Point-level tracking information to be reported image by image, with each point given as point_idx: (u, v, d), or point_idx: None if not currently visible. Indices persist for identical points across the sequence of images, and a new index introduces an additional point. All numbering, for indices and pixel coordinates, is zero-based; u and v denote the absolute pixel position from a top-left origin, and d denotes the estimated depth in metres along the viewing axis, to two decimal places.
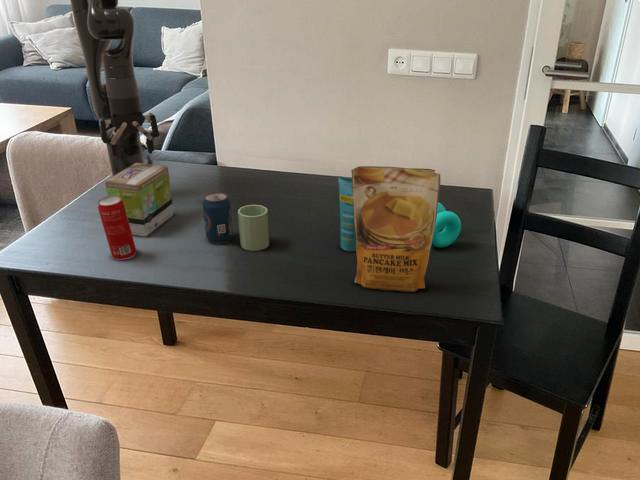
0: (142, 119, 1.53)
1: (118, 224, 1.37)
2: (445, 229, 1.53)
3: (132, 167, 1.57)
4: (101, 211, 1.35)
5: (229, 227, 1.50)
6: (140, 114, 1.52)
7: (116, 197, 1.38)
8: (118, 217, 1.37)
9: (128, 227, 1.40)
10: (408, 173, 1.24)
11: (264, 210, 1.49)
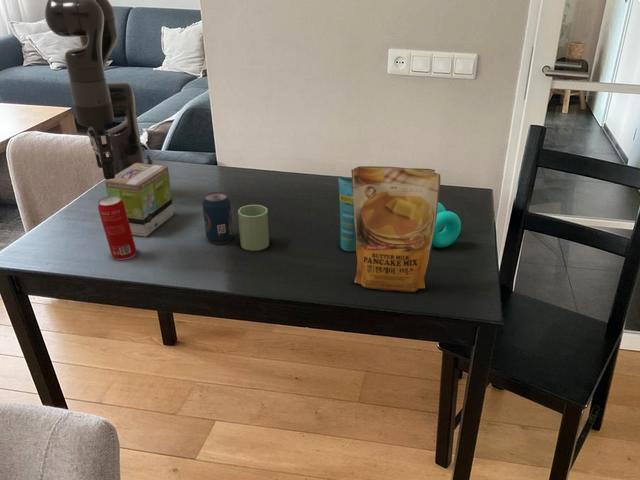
0: (95, 136, 1.26)
1: (118, 224, 1.37)
2: (445, 229, 1.53)
3: (132, 167, 1.57)
4: (101, 211, 1.35)
5: (229, 227, 1.50)
6: (94, 130, 1.25)
7: (116, 197, 1.38)
8: (118, 217, 1.37)
9: (128, 227, 1.40)
10: (408, 173, 1.24)
11: (264, 210, 1.49)
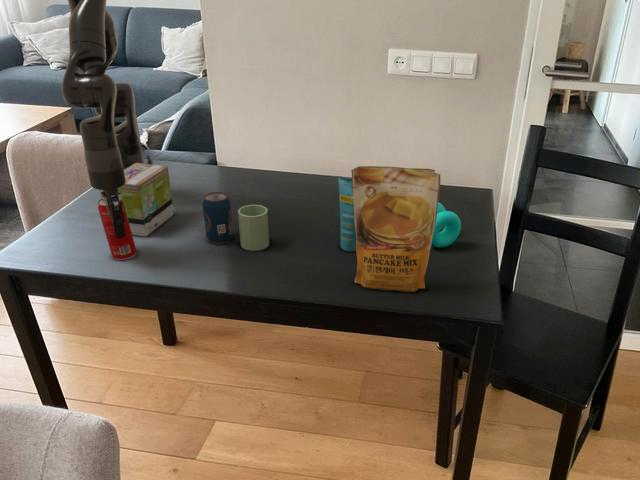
0: (108, 198, 1.33)
1: None
2: (445, 229, 1.53)
3: (132, 167, 1.57)
4: (101, 211, 1.35)
5: (229, 227, 1.50)
6: (107, 192, 1.32)
7: None
8: (118, 217, 1.37)
9: (128, 227, 1.40)
10: (408, 173, 1.24)
11: (264, 210, 1.49)
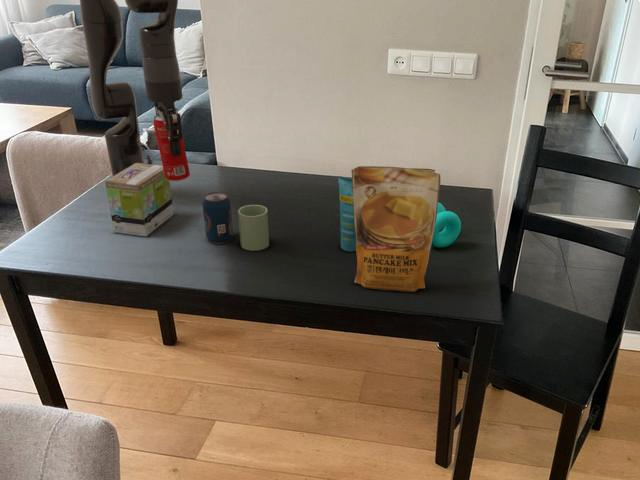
0: (165, 112, 1.28)
1: None
2: (445, 229, 1.53)
3: (132, 167, 1.57)
4: (157, 127, 1.31)
5: (229, 227, 1.50)
6: (164, 106, 1.28)
7: None
8: None
9: (183, 147, 1.36)
10: (408, 173, 1.24)
11: (264, 210, 1.49)
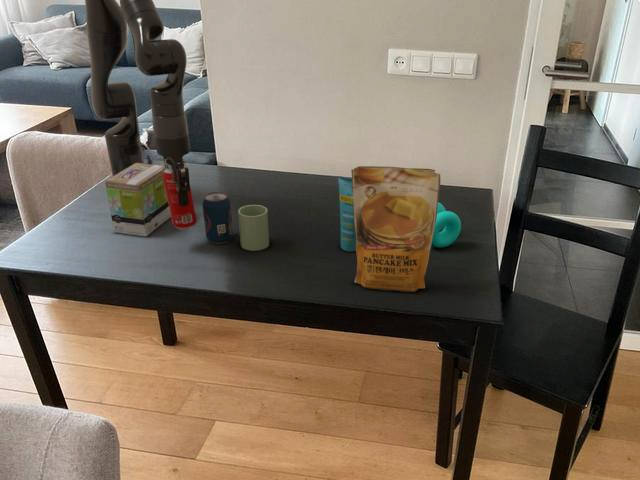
0: (174, 166, 1.34)
1: None
2: (445, 229, 1.53)
3: (132, 167, 1.57)
4: (166, 179, 1.37)
5: (229, 227, 1.50)
6: (173, 160, 1.34)
7: None
8: (182, 185, 1.38)
9: (191, 196, 1.42)
10: (408, 173, 1.24)
11: (264, 210, 1.49)
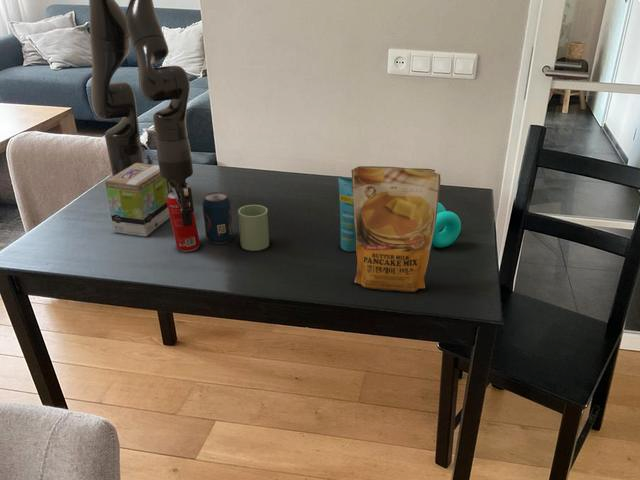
0: (177, 188, 1.37)
1: None
2: (445, 229, 1.53)
3: (132, 167, 1.57)
4: (170, 204, 1.40)
5: (229, 227, 1.50)
6: (176, 182, 1.37)
7: None
8: None
9: (194, 220, 1.45)
10: (408, 173, 1.24)
11: (264, 210, 1.49)
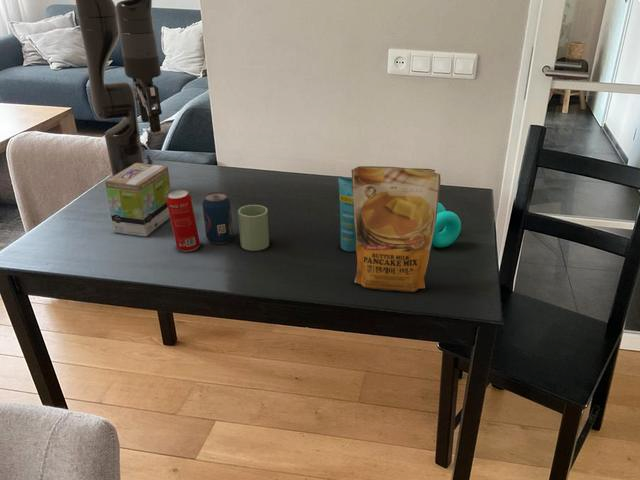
0: (143, 88, 1.28)
1: (185, 216, 1.42)
2: (445, 229, 1.53)
3: (132, 167, 1.57)
4: (170, 204, 1.40)
5: (229, 227, 1.50)
6: (142, 82, 1.27)
7: (183, 190, 1.43)
8: (186, 210, 1.41)
9: (194, 220, 1.45)
10: (408, 173, 1.24)
11: (264, 210, 1.49)
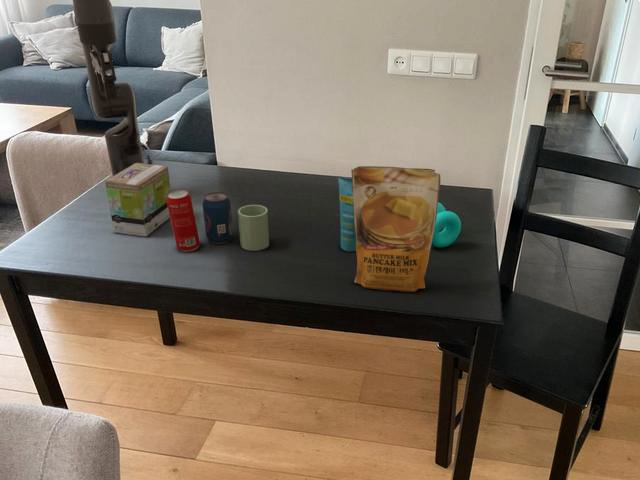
0: (98, 55, 1.29)
1: (185, 216, 1.42)
2: (445, 229, 1.53)
3: (132, 167, 1.57)
4: (170, 204, 1.40)
5: (229, 227, 1.50)
6: (97, 48, 1.28)
7: (183, 190, 1.43)
8: (186, 210, 1.41)
9: (194, 220, 1.45)
10: (408, 173, 1.24)
11: (264, 210, 1.49)
